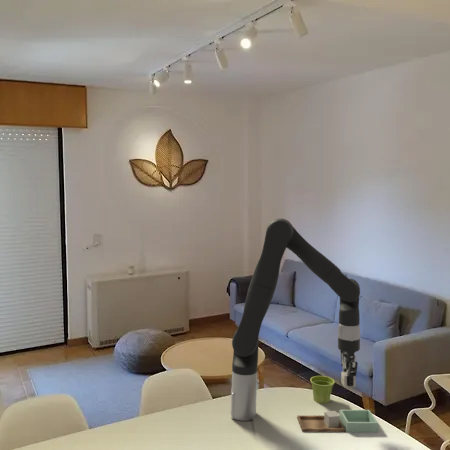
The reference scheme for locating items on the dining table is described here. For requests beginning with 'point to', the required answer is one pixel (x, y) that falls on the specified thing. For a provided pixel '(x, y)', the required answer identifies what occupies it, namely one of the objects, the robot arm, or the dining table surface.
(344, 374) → the stone
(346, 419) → the bin
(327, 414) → the stone
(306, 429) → the tray
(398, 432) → the dining table surface
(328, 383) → the plant pot
